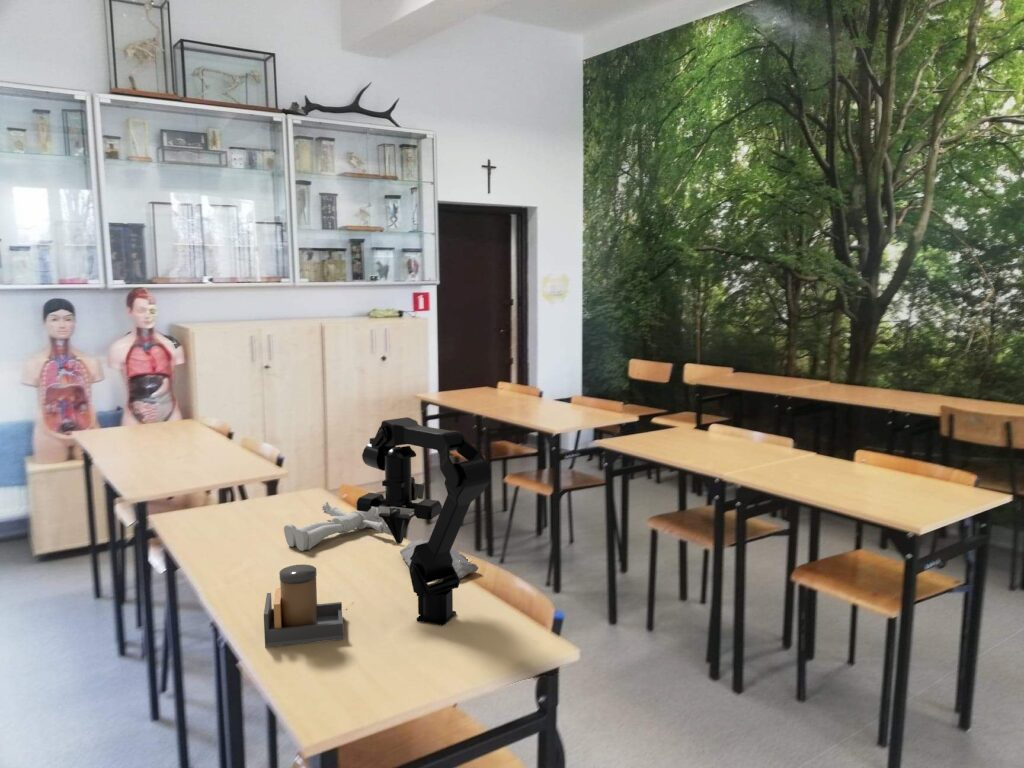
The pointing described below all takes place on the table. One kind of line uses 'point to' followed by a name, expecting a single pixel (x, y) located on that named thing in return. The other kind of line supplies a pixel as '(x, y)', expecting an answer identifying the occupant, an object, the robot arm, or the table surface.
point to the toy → (334, 526)
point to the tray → (323, 631)
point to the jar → (298, 596)
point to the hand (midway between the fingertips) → (399, 543)
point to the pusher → (277, 609)
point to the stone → (462, 564)
